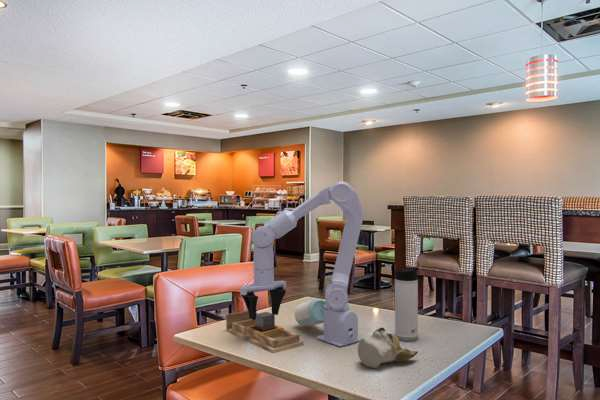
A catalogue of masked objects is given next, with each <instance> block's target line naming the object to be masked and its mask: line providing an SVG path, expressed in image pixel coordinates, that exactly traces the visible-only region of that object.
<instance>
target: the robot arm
mask: <svg viewBox="0 0 600 400" xmlns="http://www.w3.org/2000/svg"><path fill="white" fill-rule="evenodd" d="M331 201H332V202H333V203H334V204H335V205H337V206H338V207H339V208H340V209H341V212H343V214H344V215H345V217H346V218H345V222H344V225H343V226H344V227H343V231H342V234H341V238H340V239H341V240H340V244H339V248H338V252H337V256H336V260H335V264H334V268H333V272H332V275H331V279H330V281H329V283H328V284H327V285H326V287H325V290H324V291H325V292H324V293H325V295H324V301H325V302H326V304H324V323H323V334H322V335H321V334H320V335H317V337H316V338H317V339H319V340H321V341H323V342H326V343H330V344H332V345H334V346H337V347H343V346H348V345H350V344H353V343H357V342H359V341H360V340H361V338H359V319H358V316H357V313H355V312H354V311H352V310H351V308H350V304H349V295H348V287H349V280H350V275H351V270H352V266H353V261H354V258H355V254H356V250H357V246H358V241H359V237H360V234H361V229H362V226H363V220H364V218H365V213H364V210H363V208H362V204H361V203H360V202H361V201H360V199H359V197H358V194H357V192H356V190H355V189H354V188H353V186H352V185H351V184H350V183H348V182H347V181H337V182H335V183H334V184H333V185H330V186H327V187H325V188H323V189H321V190H319V191H317V192H316V193H315V194H312V196H310V197H309V198H307V199H306V200H304V201H303V202H302V203H300V204H299V205H298V206H297V207H295V208H294V209H292V210H288V209H283V210H279V211H277V212H276V215H275V216H273V217H272V218H271V219H269V220H268V221H267V220H265V221H263V222H262V223H263V224H262V226H257V227H256V229H254V231H253V232H252V235H251V241H252V243H253V256H252V257H253V283H252V284H248V285H244V286H240V287H239V294H240V295H241V297H242V299H243V301H244V304H245V305H246V309H247V310H248V312H249V317H250V319H252V320H256V310H257V305H258V299H259V296H258V295H256V293H261V292H265V291H268V292H269V295H270V300H271V301H270V303H271V313H272V314H275V316H277V315H279V311H280V308H281V304H282V301H283V300H284V297H285V295H286V294H287V291H286V289H287V281H285V280H275V275H274V274H275V267H274V266H275V264H274V263H275V259H274V254H275V253H274V242H275V240H276V239H278V240H279V239H280V238H281V237H283V236H285V235H286V234H287V233H289V232H290V231H291V230H293V229H294V228H296V227H297V224H298V221H299V219H301V218H302V217H305V216H306V215H308V214H309V213H310V212H312V211H314V210H315V209H317V208H319V207H320V206H323V205H331V203H332V202H331Z"/></svg>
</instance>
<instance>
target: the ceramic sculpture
mask: <svg viewBox="0 0 600 400" xmlns="http://www.w3.org/2000/svg"><path fill="white" fill-rule="evenodd" d="M417 354H418V351H416V350H415V351H414V350H410V349H407V348H402V347H401V343H400V340H399V339H398V337H397V336H396V335H395V332H390V331H388V330H385V328H384V327H379V328H376V329H375V330H374V331H373V332H372V335H371V336H370V337H369V338H365V337H362V338H360V341H358V345H357V355H358V358H359V360H360V362H361V363H362V364H363V365H364V366H365V367H366V368H370V369H376V368H378V367H379V366H380V365H381V364H387V363H392V362H395V361H400V362H406V361H409V360H410V359H413V358H414V357H415V356H416V355H417Z"/></svg>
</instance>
